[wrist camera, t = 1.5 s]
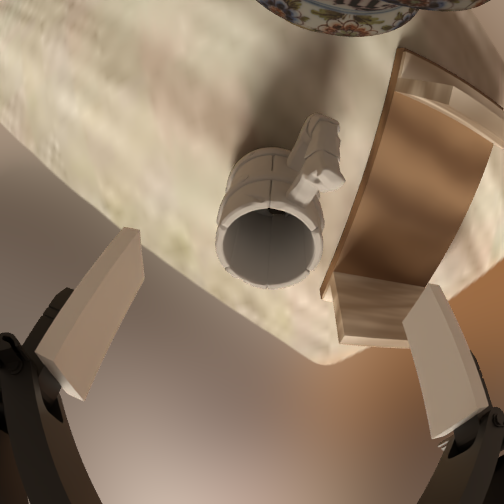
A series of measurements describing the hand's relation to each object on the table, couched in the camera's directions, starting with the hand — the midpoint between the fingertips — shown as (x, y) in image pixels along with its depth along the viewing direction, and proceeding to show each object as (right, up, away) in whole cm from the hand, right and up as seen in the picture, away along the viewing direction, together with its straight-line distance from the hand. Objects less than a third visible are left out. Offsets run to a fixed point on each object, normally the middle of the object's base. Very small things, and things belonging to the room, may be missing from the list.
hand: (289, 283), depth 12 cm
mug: (+1, +9, +11) cm, 14 cm away
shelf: (+14, +6, +11) cm, 19 cm away
